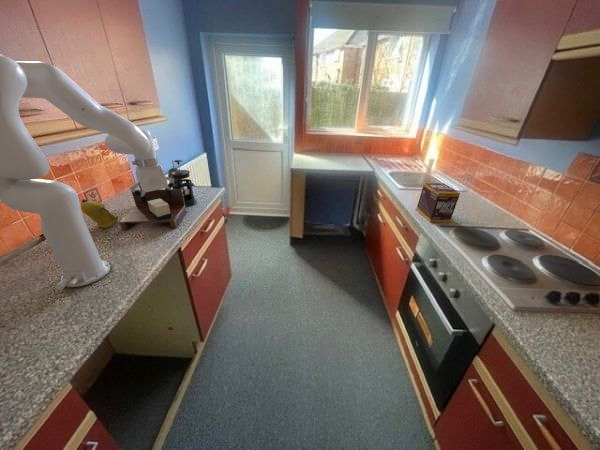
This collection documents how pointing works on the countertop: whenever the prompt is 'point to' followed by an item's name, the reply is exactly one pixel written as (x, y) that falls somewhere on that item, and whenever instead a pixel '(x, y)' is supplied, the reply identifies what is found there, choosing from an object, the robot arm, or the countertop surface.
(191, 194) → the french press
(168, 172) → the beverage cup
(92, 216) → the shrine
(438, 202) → the supplement box
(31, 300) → the countertop surface
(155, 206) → the beige cuboid
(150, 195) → the shoe shelf
